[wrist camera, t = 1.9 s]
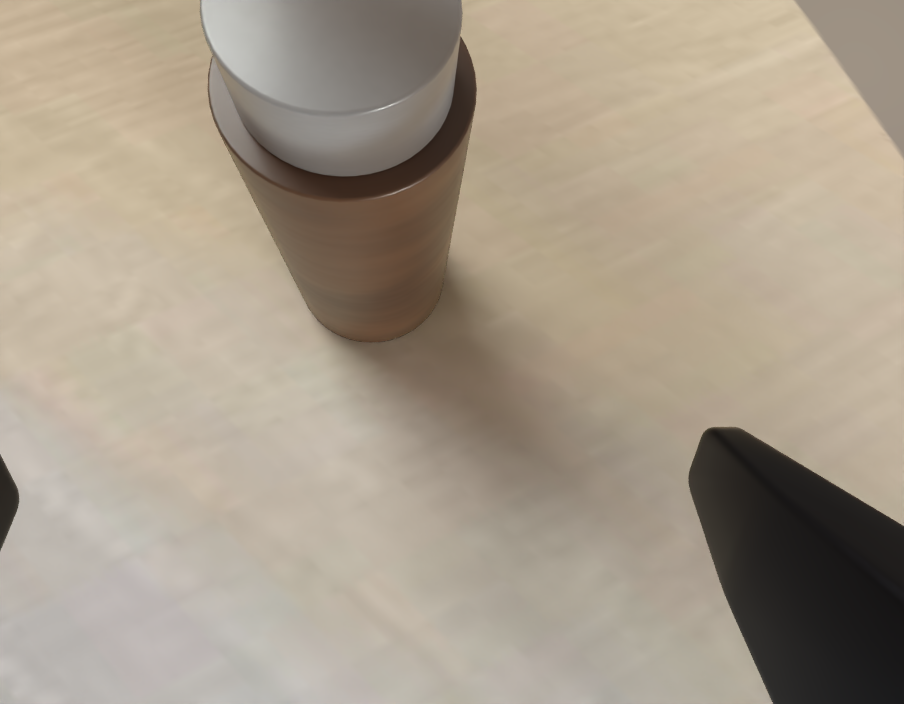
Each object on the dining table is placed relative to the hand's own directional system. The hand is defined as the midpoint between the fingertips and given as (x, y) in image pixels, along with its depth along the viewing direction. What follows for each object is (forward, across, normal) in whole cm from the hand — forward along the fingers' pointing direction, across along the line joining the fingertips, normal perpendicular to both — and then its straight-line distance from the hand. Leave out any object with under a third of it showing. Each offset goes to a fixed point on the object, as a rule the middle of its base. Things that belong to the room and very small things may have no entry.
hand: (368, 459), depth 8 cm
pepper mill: (+15, +1, +4) cm, 16 cm away
